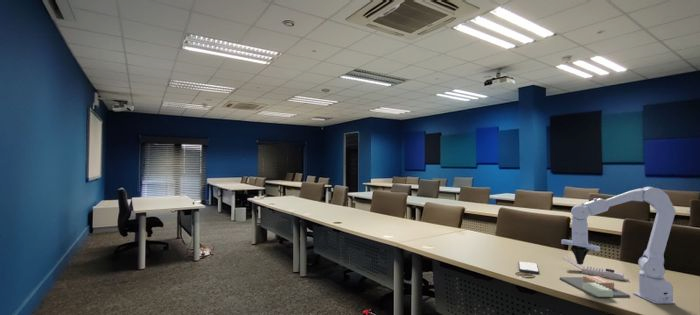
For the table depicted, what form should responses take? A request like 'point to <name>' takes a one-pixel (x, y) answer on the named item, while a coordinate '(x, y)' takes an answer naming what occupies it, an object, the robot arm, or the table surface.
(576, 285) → the mat
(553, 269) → the table surface
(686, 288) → the table surface
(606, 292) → the pale green rectangular block
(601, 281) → the pink block
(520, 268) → the phone case
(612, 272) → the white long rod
